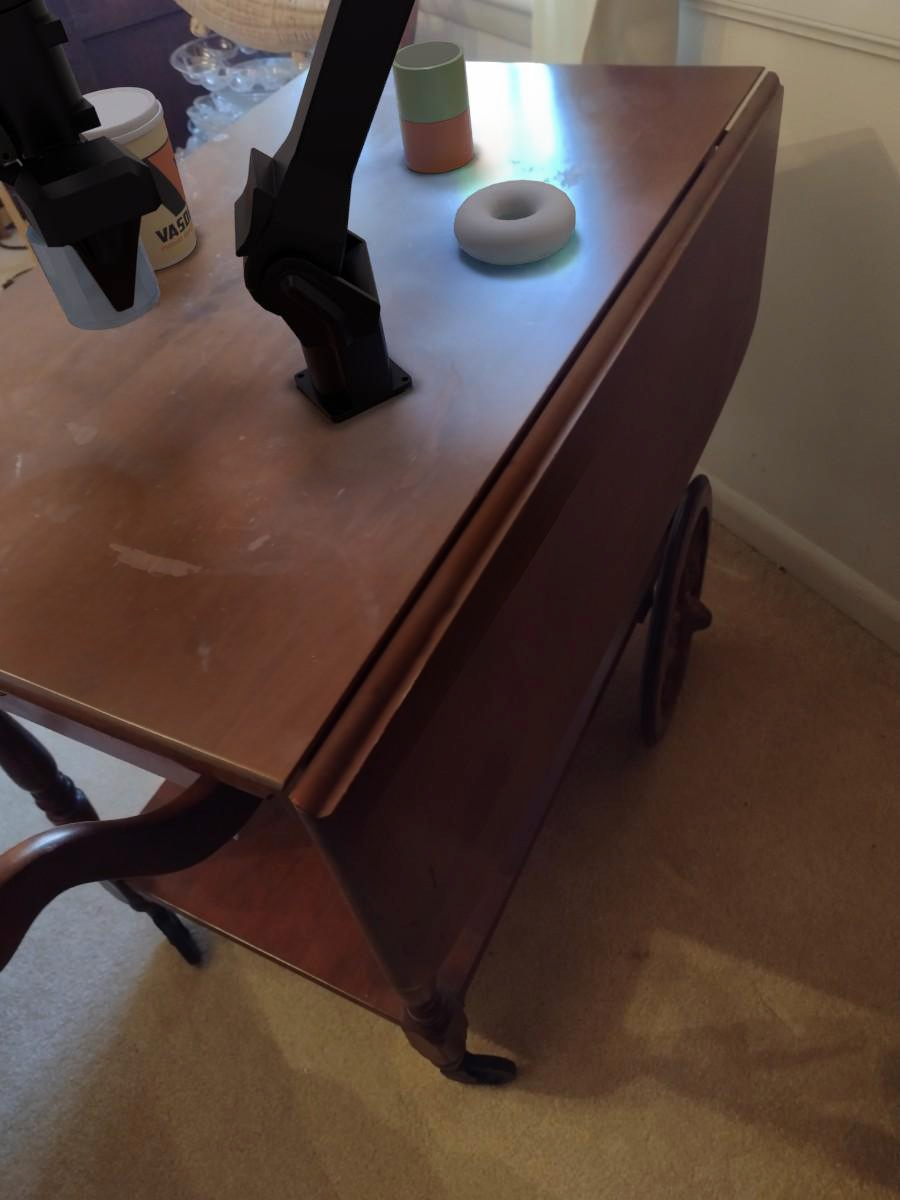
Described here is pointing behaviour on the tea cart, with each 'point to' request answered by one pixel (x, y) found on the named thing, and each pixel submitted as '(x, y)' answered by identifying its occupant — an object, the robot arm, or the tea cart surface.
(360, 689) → the tea cart surface
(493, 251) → the donut
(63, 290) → the blue cup
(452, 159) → the cup stack
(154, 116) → the coffee cup
